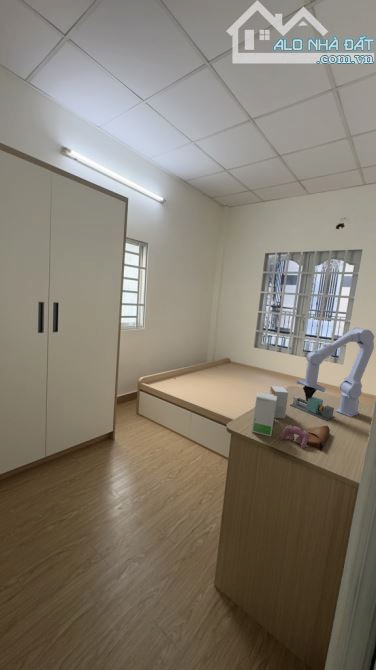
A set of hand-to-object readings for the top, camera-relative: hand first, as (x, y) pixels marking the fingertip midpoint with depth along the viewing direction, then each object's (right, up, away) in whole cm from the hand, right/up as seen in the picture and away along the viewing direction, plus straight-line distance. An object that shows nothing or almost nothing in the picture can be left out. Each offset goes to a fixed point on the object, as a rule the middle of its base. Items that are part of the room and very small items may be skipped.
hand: (308, 400), depth 144 cm
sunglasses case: (-10, -9, -30) cm, 32 cm away
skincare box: (-31, -7, -27) cm, 42 cm away
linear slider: (+1, -5, -1) cm, 5 cm away
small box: (-19, -5, -9) cm, 22 cm away
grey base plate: (+1, -5, -1) cm, 5 cm away
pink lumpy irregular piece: (-20, -9, -34) cm, 40 cm away
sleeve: (+2, -5, -2) cm, 6 cm away
